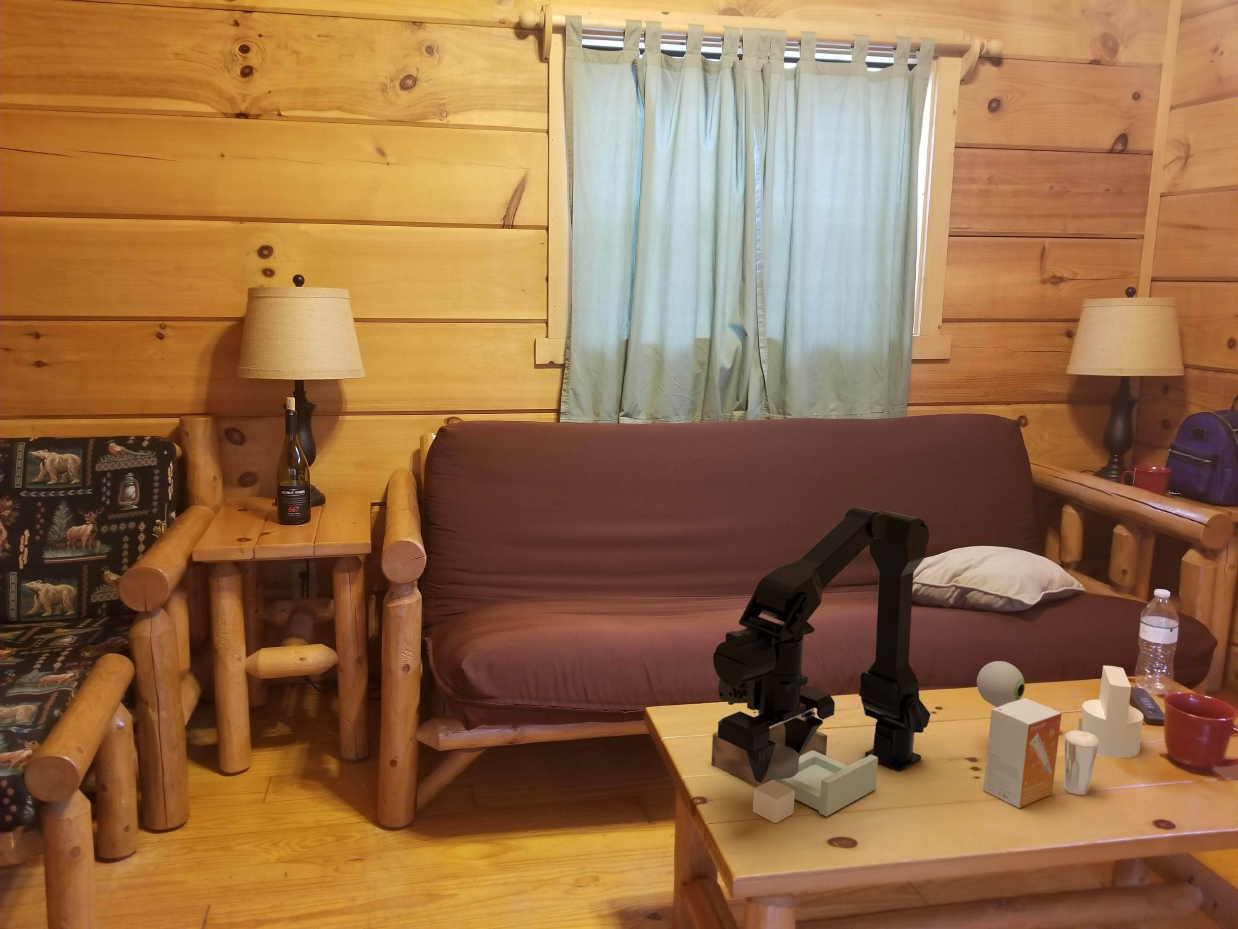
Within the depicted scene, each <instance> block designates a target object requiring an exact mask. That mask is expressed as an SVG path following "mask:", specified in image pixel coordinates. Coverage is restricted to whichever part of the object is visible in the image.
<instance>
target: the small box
mask: <svg viewBox="0 0 1238 929" xmlns="http://www.w3.org/2000/svg"><path fill="white" fill-rule="evenodd" d="M1061 722H1062V712H1060V711H1058V710H1055V709H1053V708H1051V707H1049V706H1046V705H1043V704H1042V703H1038V702H1036V701H1034V700H1031V699H1029V698H1027V697H1024V698H1021V699H1020V700H1017V701H1014V702H1010V703H1007V704H1005V705H1002V706H1000V707H997V708H996V707H994V708H991V714H990V723H989V724H990V725H989V733H988V741H987V742H988V743H987V752H986V753H987V754H986V762H985V771H984V779H983V780H984V782H983V788H982V789H983V790H982V791H984V792H986V793H987V794H990V795H991V796H994V797H996V798H998V799H999V800H1002V801H1003V802H1005V803H1008V804H1010V805H1012V806H1014V807H1016V808H1018V809H1022V808H1023V807H1025V806H1028V805H1029V804H1032V803H1034V802H1036V801H1039V800H1041V799H1044V798H1047V797H1048V796H1049V797H1050V796H1051V795H1052V794H1053V789H1054V788H1053V787H1054V779H1055V771H1056V762H1057V754H1058V746H1059V739H1060V738H1059V737H1060V729H1061Z"/></svg>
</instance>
